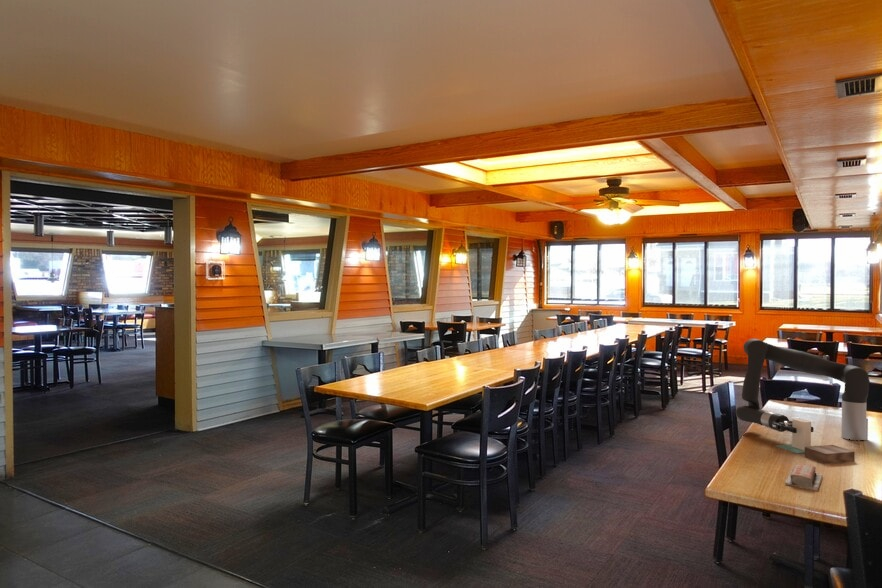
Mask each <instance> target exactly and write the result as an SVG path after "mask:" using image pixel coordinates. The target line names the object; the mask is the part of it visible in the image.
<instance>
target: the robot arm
mask: <svg viewBox="0 0 882 588" xmlns="http://www.w3.org/2000/svg"><path fill="white" fill-rule="evenodd" d="M743 351H744V353H745V354H746V355H747V368H746V373H745V376H744V380H743V383H742V389H741V399H742V400H743V401H745V402H747V403H748V405H739V406H738V407H736V409H735V415H736V417H737V418H738V419H739V420H740V421H742V422H748V423H751V424H753V423H754V424H756V425H759V426H762V427H766V428H768V429H770V430H774V431H777V432H781V433H783V432H787V433H788V432H790V433H791V434H792V433H797V428H794V427H792V420H791V419H789V418H788V417H787V415H785V414H780V413H777V412H773V411H768V410H764V409H761V407H760V402H759V394H760V386H761V378H762V373H763V367H764V363H765V360H768V361H771V362H774V363H777V364H779V365H782V366H785V367H787V368H788V369H792V370H795V371H798V372H802V373H806V374H810V375H817V376H824V377H829V378H831V379H834V380H836V381H840V382H842V383H844V391H843V393H842V394H841V424H840V425H841V430H840V431H841V433H840V436H841V438H843V439H844V440H845V439H846V440H849V439H850V440H849V441H856V440H858V441H859V442H861V441H860V440H864V441H866V440H869V439H868V437H869V436H868V435H869V434H868V433H869V427H868V426H869V419H868V418H867V401H868V400H867V399H868V397H869V391H870V388H869V386H870V378H869V374H868V372H867V370H866V369H863V368H862V367H859V366H856V365H853V364H852V365H851V364H846V363H845V364H844V363H840V362H835V361H831V360H828V359H826V358H824V357H821V356H818V355H816V354H814V353H813V354H812V353H809V352H806V351H803V350H798V349H792V348H787V347H781V346H778V345H777V346H776V345H774V344H770V343H767V342H765V341H763V340H761V339H758V338H750V339H748V340H747V341H745V342H744V344H743ZM814 428H815V427H813V426H811V433H813V432H814ZM858 441H857V442H858Z"/></svg>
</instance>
